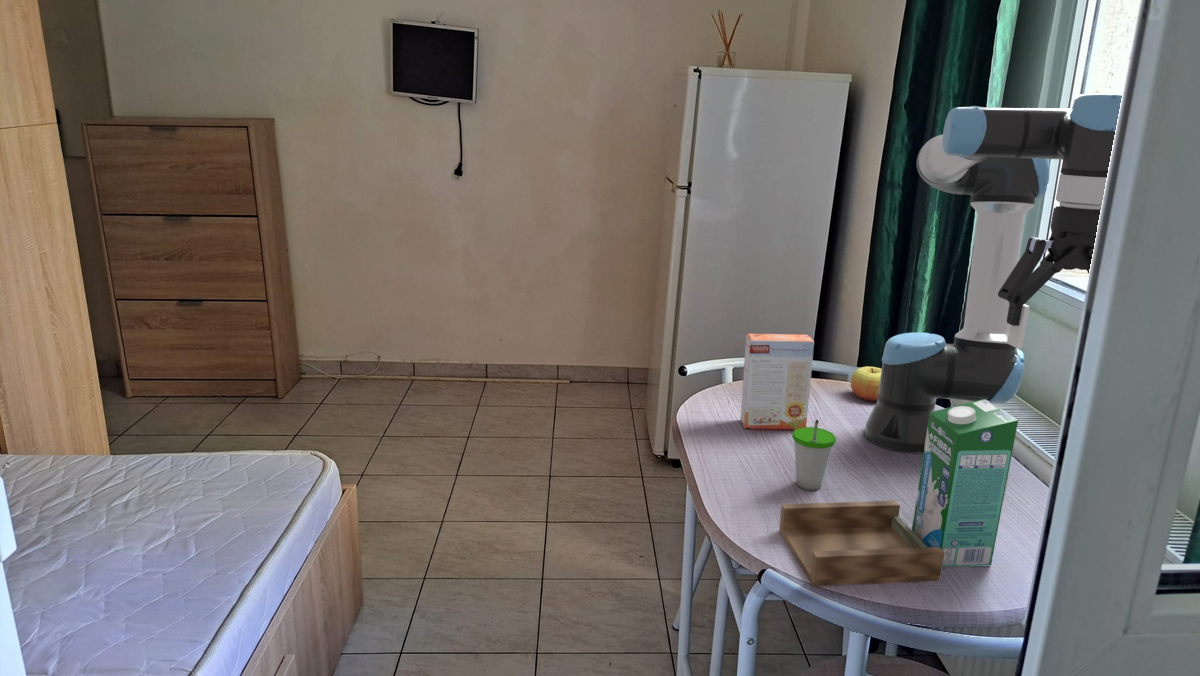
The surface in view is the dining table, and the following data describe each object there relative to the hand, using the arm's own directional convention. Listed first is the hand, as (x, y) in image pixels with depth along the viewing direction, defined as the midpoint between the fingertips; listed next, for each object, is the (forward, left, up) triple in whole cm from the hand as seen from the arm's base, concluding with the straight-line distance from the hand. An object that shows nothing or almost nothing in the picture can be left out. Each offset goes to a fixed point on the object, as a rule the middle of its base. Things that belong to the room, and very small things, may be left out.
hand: (1056, 345), depth 119 cm
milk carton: (+12, 0, -35) cm, 37 cm away
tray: (+28, 0, -35) cm, 45 cm away
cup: (+27, -24, -35) cm, 50 cm away
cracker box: (+25, -53, -35) cm, 68 cm away
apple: (-5, -69, -35) cm, 77 cm away
